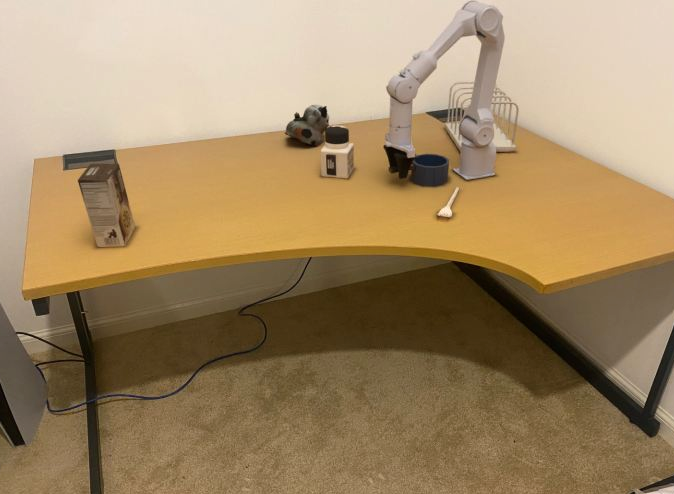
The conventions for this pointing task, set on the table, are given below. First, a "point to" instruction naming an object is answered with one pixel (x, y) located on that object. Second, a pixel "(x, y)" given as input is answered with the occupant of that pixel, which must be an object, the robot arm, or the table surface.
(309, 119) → the lucky cat figurine
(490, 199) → the table surface
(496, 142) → the file sorter
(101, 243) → the coffee box
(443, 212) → the fork
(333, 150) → the container
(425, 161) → the pot
